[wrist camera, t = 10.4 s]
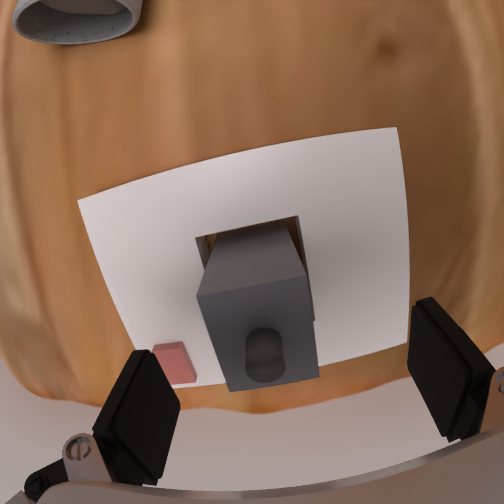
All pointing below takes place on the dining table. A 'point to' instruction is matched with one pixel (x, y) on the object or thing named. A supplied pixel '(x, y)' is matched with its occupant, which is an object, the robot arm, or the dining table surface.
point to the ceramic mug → (75, 20)
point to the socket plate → (253, 212)
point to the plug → (258, 308)
